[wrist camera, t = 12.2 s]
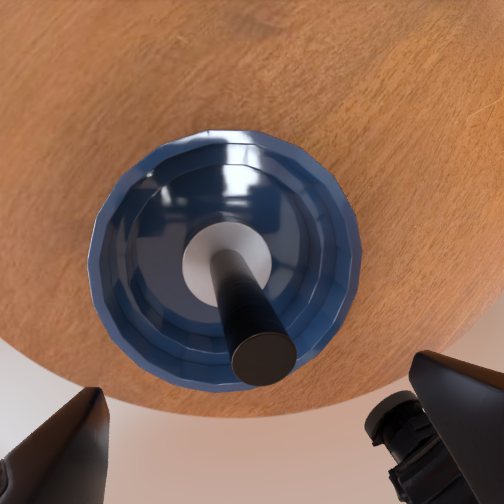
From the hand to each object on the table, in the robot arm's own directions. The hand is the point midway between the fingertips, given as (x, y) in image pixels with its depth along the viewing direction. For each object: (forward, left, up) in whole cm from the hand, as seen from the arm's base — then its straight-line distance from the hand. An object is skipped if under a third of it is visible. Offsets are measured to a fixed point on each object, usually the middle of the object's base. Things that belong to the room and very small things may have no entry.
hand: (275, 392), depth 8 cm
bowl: (0, 0, -13) cm, 13 cm away
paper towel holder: (0, 0, -12) cm, 12 cm away
